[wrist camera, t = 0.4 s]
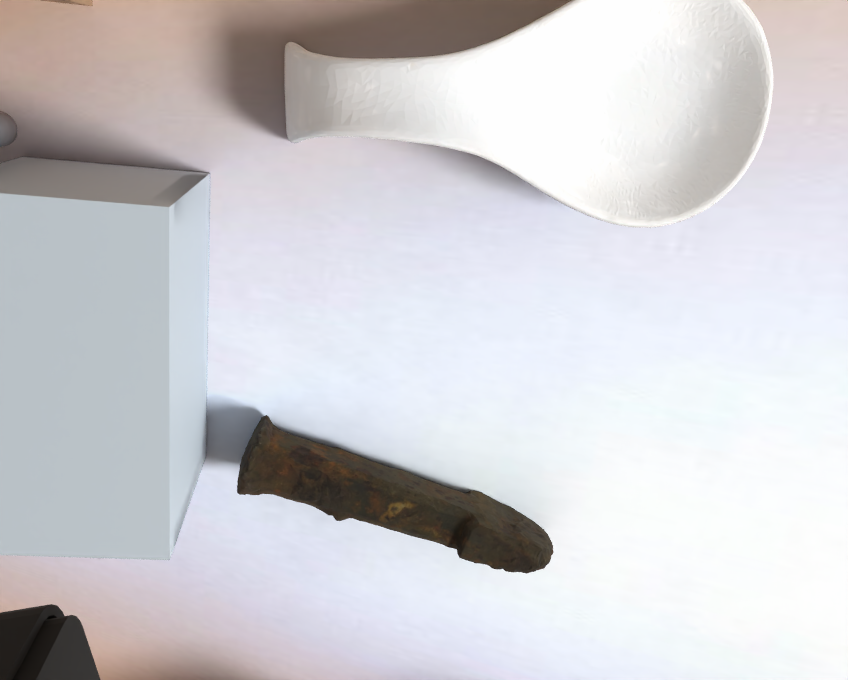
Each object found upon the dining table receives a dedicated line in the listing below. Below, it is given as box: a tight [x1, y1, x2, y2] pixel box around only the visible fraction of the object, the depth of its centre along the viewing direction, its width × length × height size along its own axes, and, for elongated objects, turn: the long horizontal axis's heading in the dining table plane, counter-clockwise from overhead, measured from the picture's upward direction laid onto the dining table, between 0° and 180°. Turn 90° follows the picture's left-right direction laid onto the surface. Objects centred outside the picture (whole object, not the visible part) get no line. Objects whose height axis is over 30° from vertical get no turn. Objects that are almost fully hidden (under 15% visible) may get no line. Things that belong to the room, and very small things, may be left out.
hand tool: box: [237, 415, 553, 573], centre depth 45 cm, size 19×4×5 cm, turn 65°
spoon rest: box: [285, 0, 773, 228], centre depth 37 cm, size 24×12×7 cm, turn 89°
